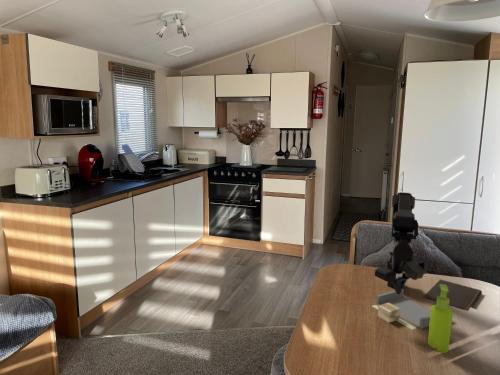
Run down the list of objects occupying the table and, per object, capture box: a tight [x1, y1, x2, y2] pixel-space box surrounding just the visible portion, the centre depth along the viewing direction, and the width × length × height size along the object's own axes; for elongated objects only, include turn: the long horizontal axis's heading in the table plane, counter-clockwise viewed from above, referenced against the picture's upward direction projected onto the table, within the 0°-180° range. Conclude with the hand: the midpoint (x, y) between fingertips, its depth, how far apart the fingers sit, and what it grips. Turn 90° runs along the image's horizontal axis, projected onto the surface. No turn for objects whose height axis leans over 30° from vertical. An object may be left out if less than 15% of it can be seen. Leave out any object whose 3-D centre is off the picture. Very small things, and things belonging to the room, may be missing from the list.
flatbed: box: [376, 288, 431, 329], centre depth 137 cm, size 13×20×4 cm, turn 27°
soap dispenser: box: [427, 284, 454, 354], centre depth 115 cm, size 6×7×20 cm
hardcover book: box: [422, 279, 483, 312], centre depth 151 cm, size 16×23×2 cm
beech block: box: [377, 303, 400, 323], centre depth 131 cm, size 5×5×4 cm
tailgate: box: [371, 304, 416, 330], centre depth 132 cm, size 1×18×7 cm
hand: (398, 293), depth 132 cm, fingers closed
